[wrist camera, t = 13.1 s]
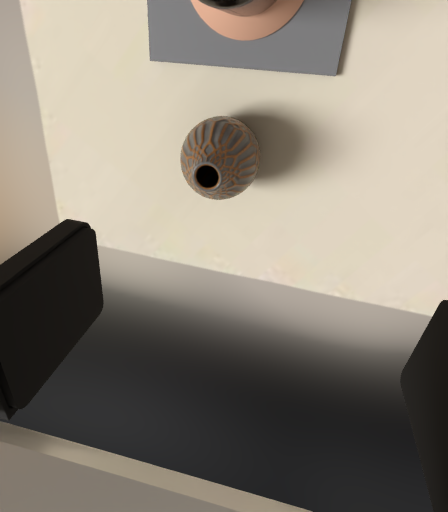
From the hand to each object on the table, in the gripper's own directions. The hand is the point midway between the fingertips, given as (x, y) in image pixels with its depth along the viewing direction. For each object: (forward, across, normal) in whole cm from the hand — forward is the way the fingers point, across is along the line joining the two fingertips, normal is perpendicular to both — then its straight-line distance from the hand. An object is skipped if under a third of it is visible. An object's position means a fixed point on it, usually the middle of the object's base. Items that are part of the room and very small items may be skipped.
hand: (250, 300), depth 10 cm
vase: (+26, +6, +3) cm, 27 cm away
